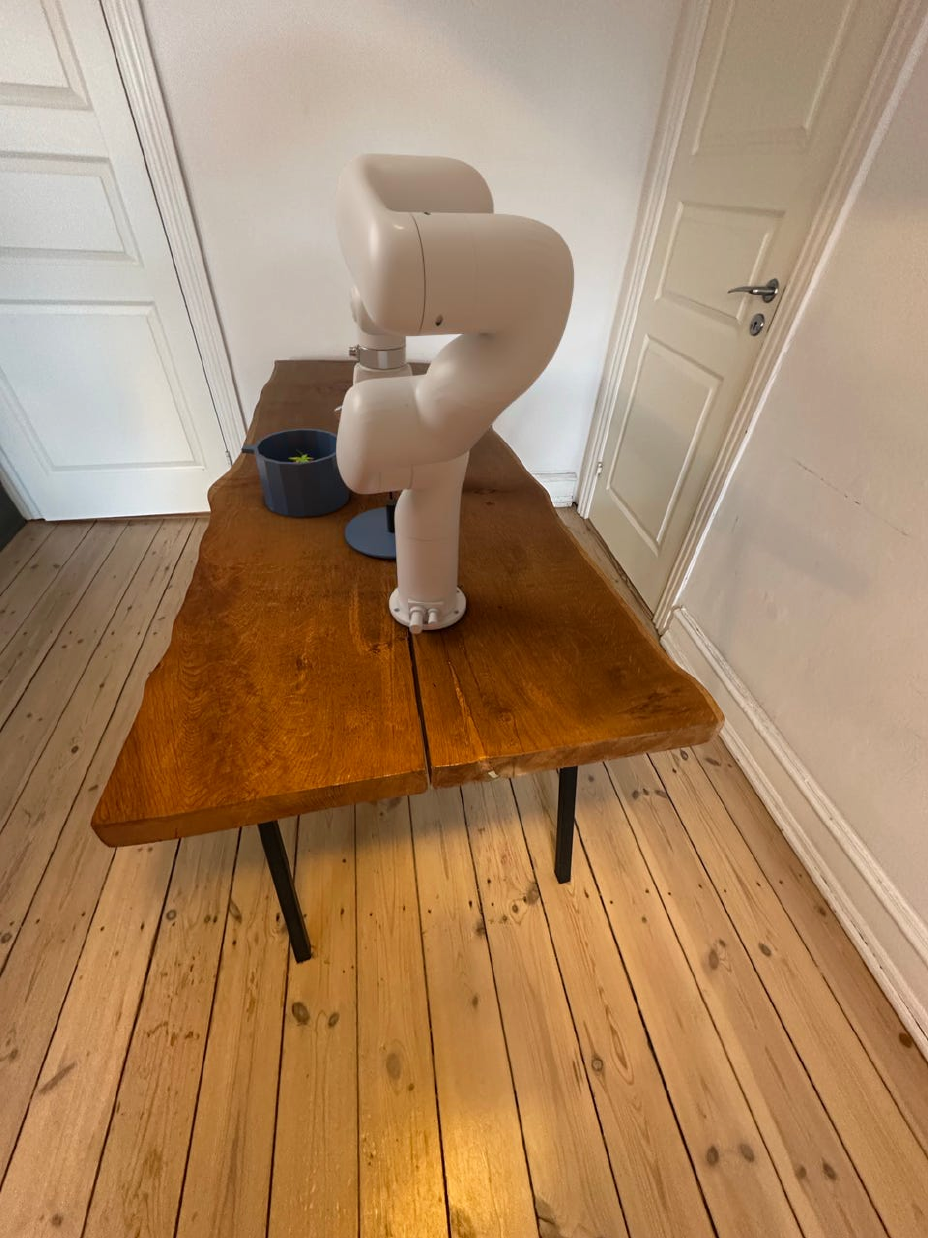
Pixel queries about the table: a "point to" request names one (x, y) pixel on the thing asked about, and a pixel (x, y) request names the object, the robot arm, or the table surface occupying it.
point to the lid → (374, 531)
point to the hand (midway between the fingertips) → (388, 458)
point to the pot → (299, 472)
